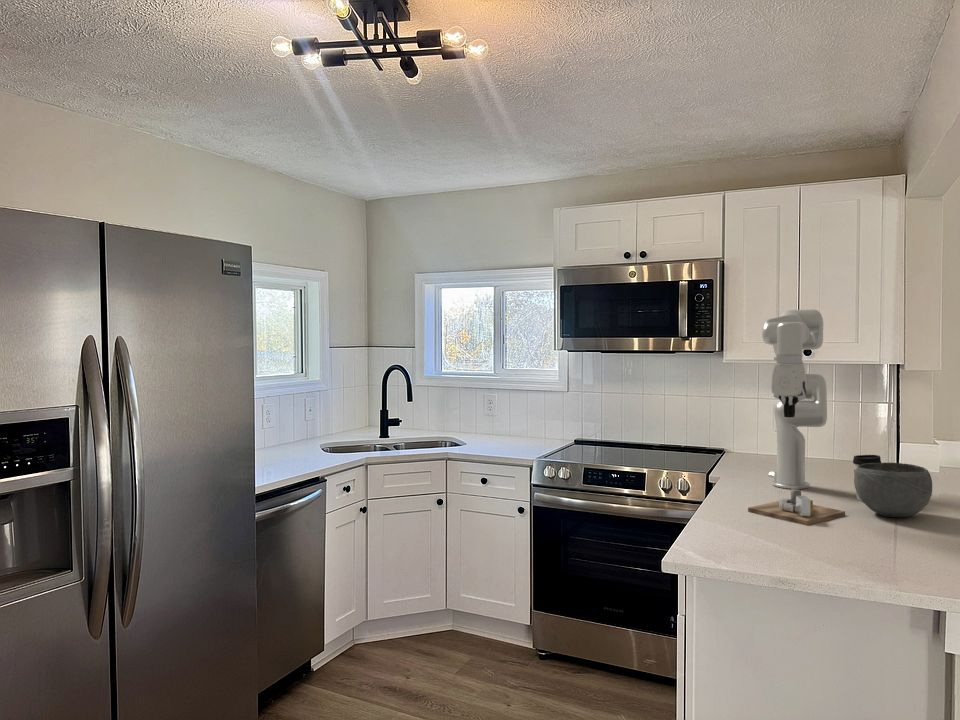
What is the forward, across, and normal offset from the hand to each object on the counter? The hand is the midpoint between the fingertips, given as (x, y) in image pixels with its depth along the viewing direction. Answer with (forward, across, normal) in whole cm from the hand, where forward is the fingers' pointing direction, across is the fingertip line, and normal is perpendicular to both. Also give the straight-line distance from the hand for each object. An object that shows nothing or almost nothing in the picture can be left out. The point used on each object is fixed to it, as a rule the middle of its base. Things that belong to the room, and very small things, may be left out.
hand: (789, 416), depth 229 cm
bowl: (+29, +25, +15) cm, 41 cm away
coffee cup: (+29, +10, +28) cm, 42 cm away
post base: (+29, +7, -7) cm, 31 cm away
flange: (+28, +9, -9) cm, 30 cm away
